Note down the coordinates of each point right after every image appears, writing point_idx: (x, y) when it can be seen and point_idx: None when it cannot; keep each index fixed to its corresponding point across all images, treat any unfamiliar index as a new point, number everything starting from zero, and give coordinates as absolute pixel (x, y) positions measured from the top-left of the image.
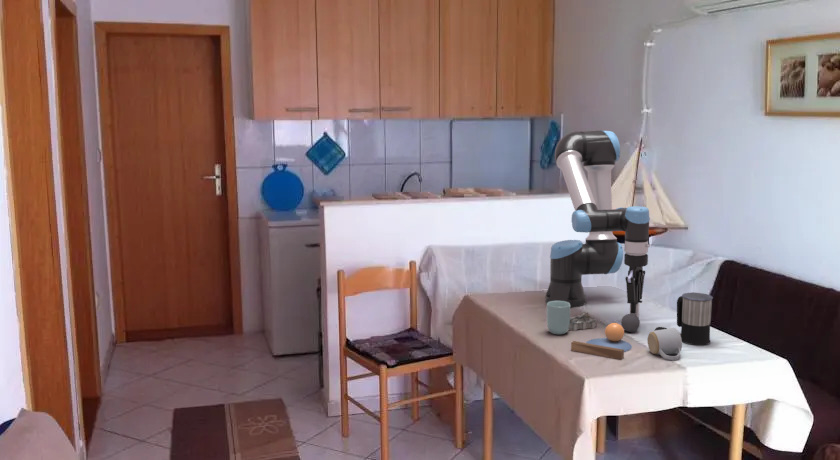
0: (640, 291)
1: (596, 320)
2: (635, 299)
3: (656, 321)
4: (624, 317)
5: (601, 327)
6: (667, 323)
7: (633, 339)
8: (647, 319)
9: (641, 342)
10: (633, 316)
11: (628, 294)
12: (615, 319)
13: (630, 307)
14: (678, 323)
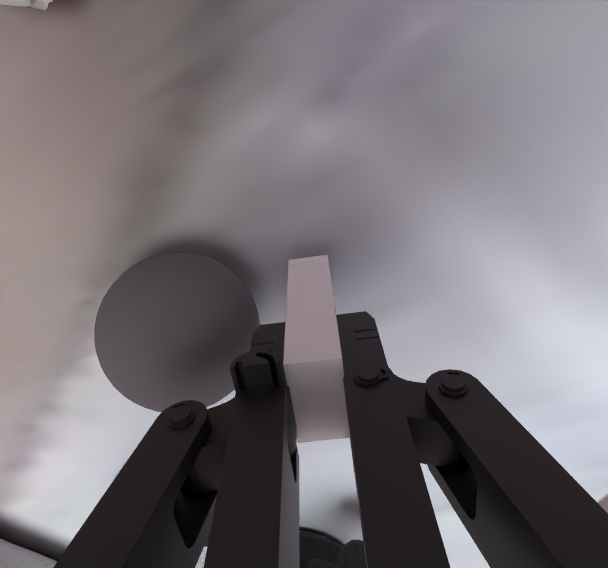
0: (480, 538)
1: (17, 3)
2: (205, 517)
3: (554, 320)
4: (105, 332)
5: (111, 48)
6: (537, 387)
7: (61, 381)
8: (583, 249)
9: (54, 432)
10: (148, 404)
11: (92, 542)
12: (449, 15)
13: (285, 338)
14: (342, 565)
